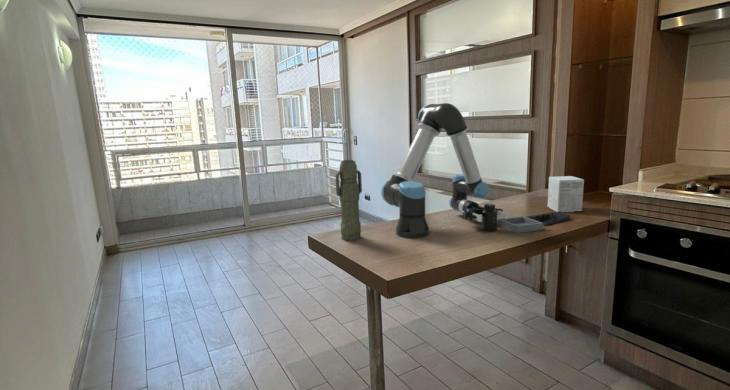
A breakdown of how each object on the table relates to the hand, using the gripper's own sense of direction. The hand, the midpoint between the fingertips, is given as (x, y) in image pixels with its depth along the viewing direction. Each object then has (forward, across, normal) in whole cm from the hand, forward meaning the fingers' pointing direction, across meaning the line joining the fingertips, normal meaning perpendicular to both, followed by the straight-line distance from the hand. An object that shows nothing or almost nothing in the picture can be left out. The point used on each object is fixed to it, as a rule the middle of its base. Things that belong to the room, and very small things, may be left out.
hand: (494, 217), depth 178 cm
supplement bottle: (-3, 0, -7) cm, 8 cm away
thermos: (-15, +63, -7) cm, 65 cm away
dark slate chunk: (-8, -36, -7) cm, 37 cm away
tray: (-1, -15, -7) cm, 16 cm away
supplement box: (-22, -59, -7) cm, 64 cm away
